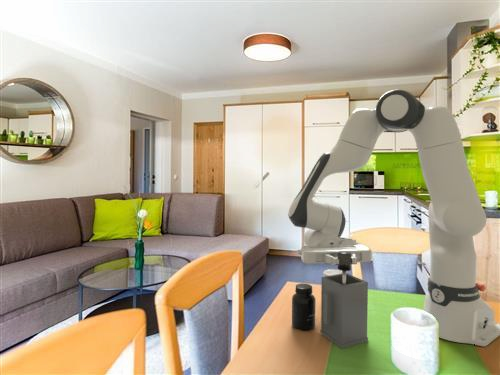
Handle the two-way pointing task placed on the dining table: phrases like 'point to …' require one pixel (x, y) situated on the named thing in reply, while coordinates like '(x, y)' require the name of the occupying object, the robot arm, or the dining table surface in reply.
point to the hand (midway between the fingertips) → (345, 261)
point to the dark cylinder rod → (344, 264)
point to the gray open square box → (344, 310)
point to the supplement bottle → (303, 308)
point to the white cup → (332, 272)
